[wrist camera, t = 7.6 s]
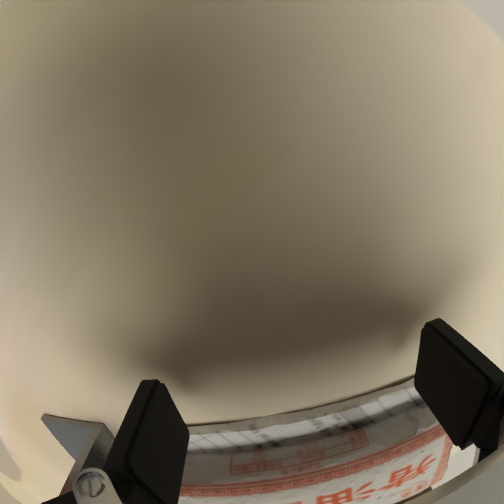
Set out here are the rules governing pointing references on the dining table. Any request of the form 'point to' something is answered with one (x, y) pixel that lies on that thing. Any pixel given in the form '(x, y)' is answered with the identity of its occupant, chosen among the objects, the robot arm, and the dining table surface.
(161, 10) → the dining table surface
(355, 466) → the packaged product
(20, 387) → the dining table surface
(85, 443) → the bookend
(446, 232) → the dining table surface
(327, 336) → the dining table surface
